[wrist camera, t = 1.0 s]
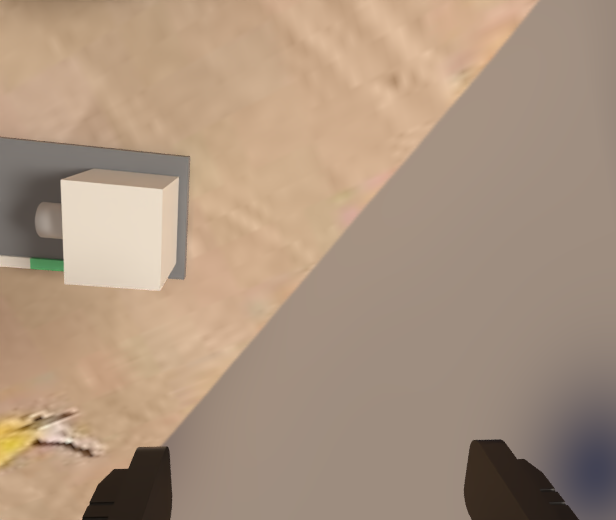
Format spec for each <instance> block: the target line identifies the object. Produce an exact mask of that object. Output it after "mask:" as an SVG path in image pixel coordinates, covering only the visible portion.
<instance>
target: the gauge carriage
mask: <svg viewBox="0 0 616 520" xmlns="http://www.w3.org/2000/svg"><path fill="white" fill-rule="evenodd" d="M178 191H179V177H177V176H166V175H156V174H146V173H136V172H126V171H116V170H105V169H95V168H94V169H91V170H88V171H85V172H82V173H79V174H76V175H73V176H70V177H67V178H64V179H61V203H50V202H42V203H40V205H39V206H38V208H37V211H36V215H35V228H36V232H37V234H38V235H39V236H40V237H43V238H55V239H63V257H64V283H65V284H70V285H84V286H99V287H113V288H127V289H142V290H156V291H160V290H161V289H162V287H163V285H164V283H165V282H166V280H167V278H168V276H169V275H170V273H171V271H172V270H173V268H174V266H175V264H176V251H177V221H178Z"/></svg>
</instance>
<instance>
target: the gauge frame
mask: <svg viewBox="0 0 616 520" xmlns="http://www.w3.org/2000/svg"><path fill="white" fill-rule="evenodd" d="M94 168H95V169H105V170H116V171H126V172H136V173H146V174H156V175H166V176H177V177H179V191H178V221H177V251H176V264H175V266H174V268H173V270H172V271H171V273H170V275H169V276H168V278H169V279H183V280H184V279H185V275H186V250H187V224H188V199H189V173H190V156H181V155H171V154H161V153H152V152H142V151H132V150H123V149H113V148H103V147H94V146H84V145H74V144H65V143H55V142H45V141H36V140H26V139H16V138H7V137H0V267H14V268H27V269H38V270H52V271H64V257H63V239H55V238H43V237H40V236H39V235H38V234H37V232H36V228H35V215H36V211H37V208H38V206H39V205H40V203H42V202H50V203H61V179H64V178H67V177H70V176H73V175H76V174H79V173H82V172H85V171H88V170H91V169H94Z"/></svg>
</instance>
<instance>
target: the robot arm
mask: <svg viewBox="0 0 616 520" xmlns="http://www.w3.org/2000/svg"><path fill="white" fill-rule="evenodd" d="M464 498H465V503H466V507H467V510H468V513H469V515H470V517H471V519H472V520H579V519H578V518H577V517H576V515H575V514H574V513H573V511H572V510H571V509H570V507H569V506H568V505H566V504H565V501H564V500H563V499H562V497H561V496H560V495H559V493H558V492H555V488H554V487H553V486H552V484H551V483H550V482H549V480H548V479H547V478H546V477H545V475H544V474H543V473H542V472H541V471H539V470H538V469H537V468H536V467H534V466H533V465H532V464H530V463H529V462H528V461H526V460H525V459H516V457H515V456H514V454H513V453H512V451H511V450H510V449H509V447H508V446H507V445H506V443H505V442H504V441H503V440H473V441H472V442H471V445H470V449H469V456H468V463H467V470H466V477H465V484H464ZM171 510H172V486H171V470H170V453H169V448H168V447H138V448H137V450H136V452H135V454H134V456H133V459H132V461H131V464H130V466H129V468H128V469H114V470H113V471H112V472H111V473H110V474H109V475H108V476H107V477H106V478H105V479H103V480H102V481H101V482H100V483H99V484H98V486H97V488H96V490H95V492H94V494H93V496H92V499H91V501H90V504H89V506H88V507H87V509H86V511H85V513H84V515H83V519H82V520H170V517H171Z"/></svg>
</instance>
